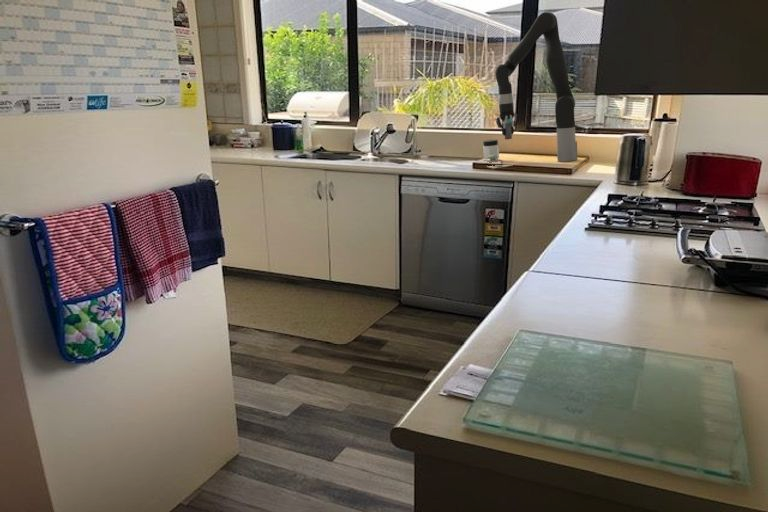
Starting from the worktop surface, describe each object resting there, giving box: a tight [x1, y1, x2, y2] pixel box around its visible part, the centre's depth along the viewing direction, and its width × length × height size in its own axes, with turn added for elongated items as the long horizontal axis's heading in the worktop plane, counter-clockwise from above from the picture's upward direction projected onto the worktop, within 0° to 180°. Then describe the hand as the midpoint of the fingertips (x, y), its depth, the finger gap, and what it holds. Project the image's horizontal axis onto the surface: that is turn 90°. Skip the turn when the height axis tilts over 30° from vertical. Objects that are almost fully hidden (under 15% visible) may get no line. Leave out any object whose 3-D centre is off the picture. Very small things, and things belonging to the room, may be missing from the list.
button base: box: [483, 158, 502, 163], centre depth 328 cm, size 7×7×2 cm
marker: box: [504, 119, 513, 140], centre depth 323 cm, size 4×4×11 cm
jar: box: [482, 139, 500, 160], centre depth 338 cm, size 9×8×12 cm
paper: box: [485, 164, 514, 169], centre depth 319 cm, size 12×9×1 cm
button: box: [488, 155, 497, 161], centre depth 328 cm, size 5×5×3 cm
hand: (508, 134), depth 324 cm, fingers closed on marker, 3 cm apart
